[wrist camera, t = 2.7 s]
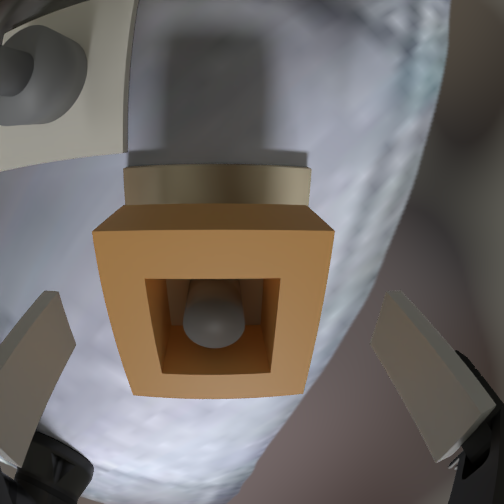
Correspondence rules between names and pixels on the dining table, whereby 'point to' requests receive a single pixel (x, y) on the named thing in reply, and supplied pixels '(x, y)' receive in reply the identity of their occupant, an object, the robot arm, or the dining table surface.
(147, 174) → the stand
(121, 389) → the dining table surface
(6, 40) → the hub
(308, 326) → the ring
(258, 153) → the dining table surface
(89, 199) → the dining table surface
